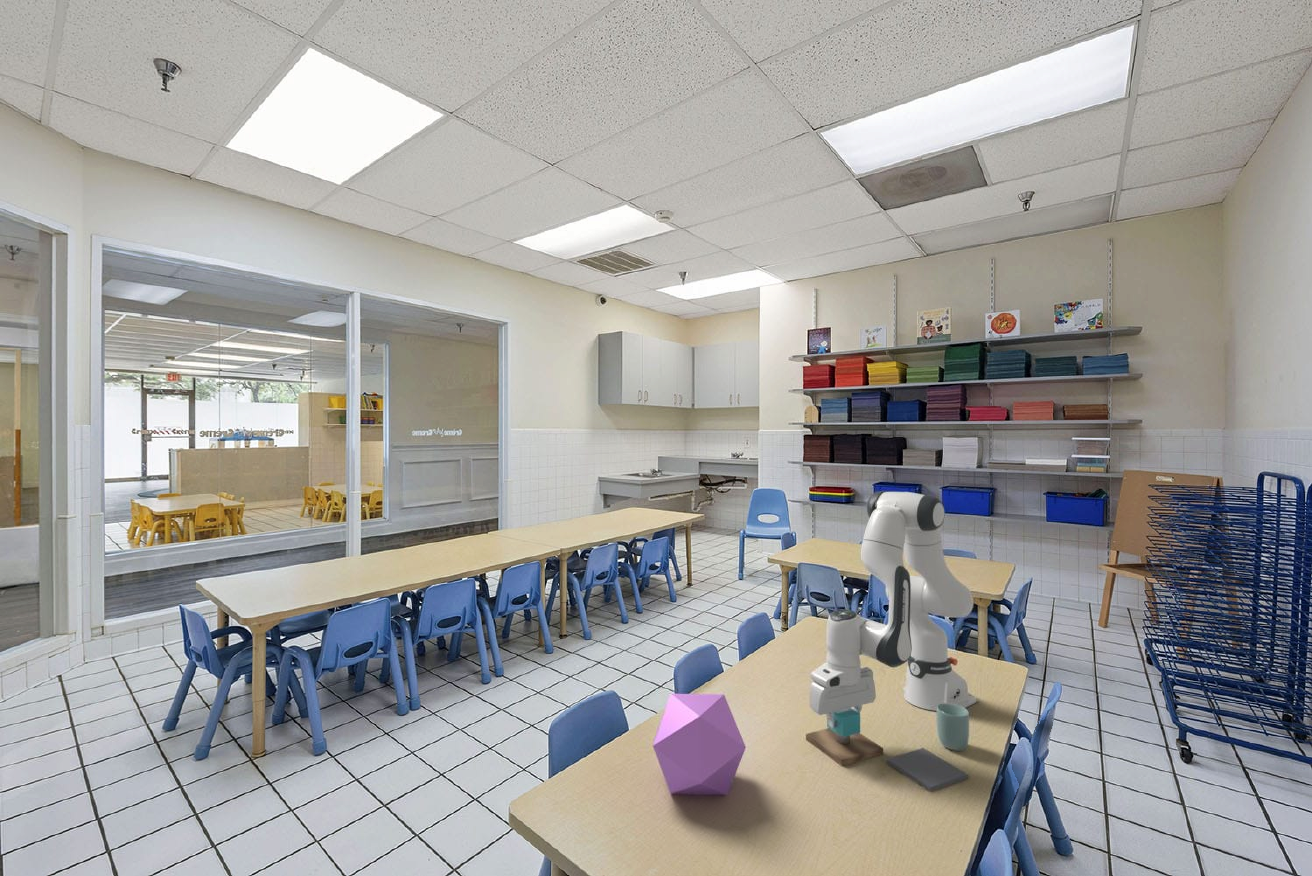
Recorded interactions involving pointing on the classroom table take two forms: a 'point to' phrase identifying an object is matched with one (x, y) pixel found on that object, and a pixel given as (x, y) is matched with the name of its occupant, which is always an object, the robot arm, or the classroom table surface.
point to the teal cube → (846, 722)
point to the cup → (953, 726)
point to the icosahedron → (698, 744)
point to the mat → (927, 769)
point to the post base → (844, 746)
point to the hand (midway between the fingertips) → (843, 723)
